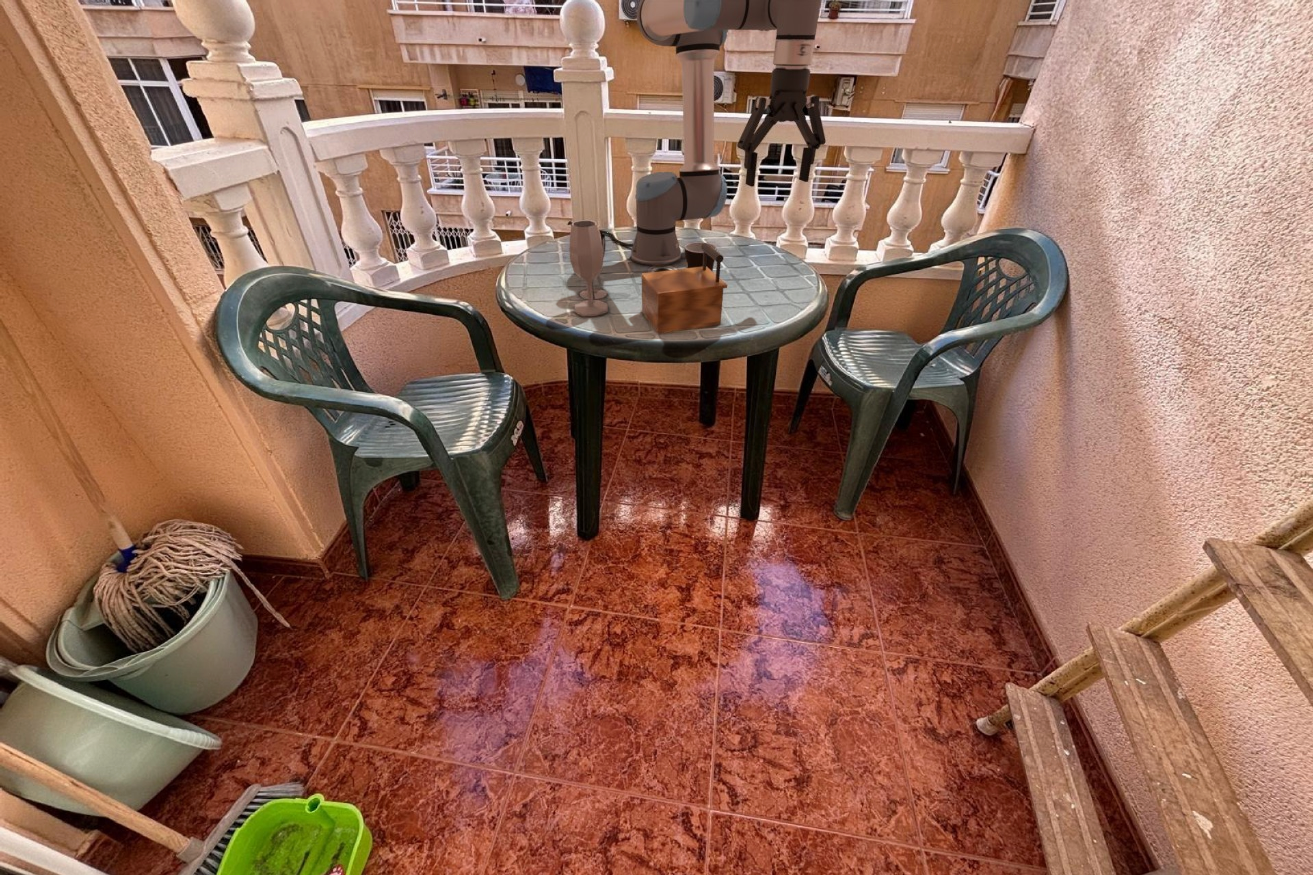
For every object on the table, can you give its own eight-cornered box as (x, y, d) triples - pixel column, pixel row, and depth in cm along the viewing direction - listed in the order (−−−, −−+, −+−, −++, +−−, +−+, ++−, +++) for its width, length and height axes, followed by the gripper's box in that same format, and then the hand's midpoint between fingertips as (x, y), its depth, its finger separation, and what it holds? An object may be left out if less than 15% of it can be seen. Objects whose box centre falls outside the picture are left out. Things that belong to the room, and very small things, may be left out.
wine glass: (584, 302, 137) (579, 243, 128) (574, 291, 143) (568, 234, 134) (613, 296, 140) (610, 238, 131) (601, 286, 146) (597, 230, 137)
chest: (700, 303, 137) (702, 269, 131) (720, 324, 127) (723, 288, 122) (642, 311, 133) (641, 277, 127) (658, 333, 123) (658, 297, 118)
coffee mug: (709, 291, 143) (711, 254, 137) (679, 287, 145) (680, 250, 139) (720, 276, 152) (723, 241, 146) (691, 272, 154) (693, 237, 148)
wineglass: (579, 320, 129) (571, 231, 116) (569, 306, 135) (560, 220, 122) (613, 313, 132) (608, 226, 119) (601, 300, 138) (596, 216, 125)
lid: (705, 269, 131) (707, 240, 127) (727, 288, 122) (729, 257, 117) (641, 276, 127) (640, 247, 123) (658, 297, 118) (658, 265, 113)
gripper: (744, 69, 100) (734, 191, 113) (855, 67, 106) (834, 182, 119) (726, 67, 105) (719, 183, 118) (834, 65, 112) (815, 175, 125)
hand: (777, 183), depth 119 cm, fingers open, 13 cm apart
